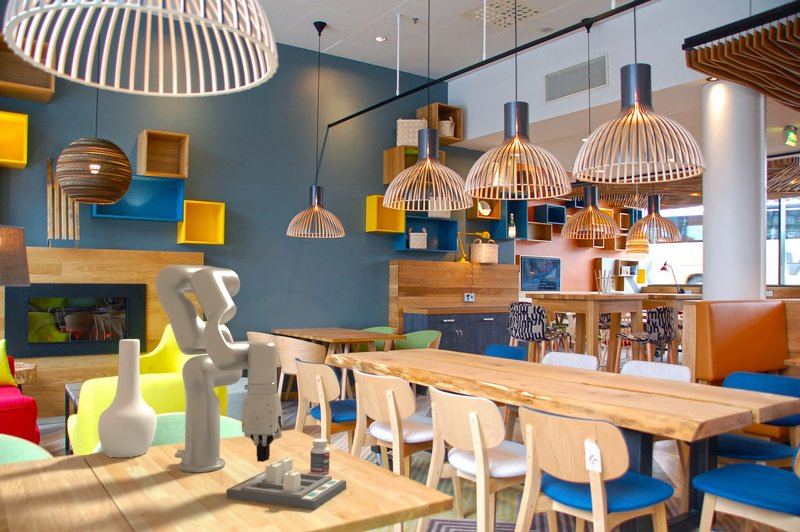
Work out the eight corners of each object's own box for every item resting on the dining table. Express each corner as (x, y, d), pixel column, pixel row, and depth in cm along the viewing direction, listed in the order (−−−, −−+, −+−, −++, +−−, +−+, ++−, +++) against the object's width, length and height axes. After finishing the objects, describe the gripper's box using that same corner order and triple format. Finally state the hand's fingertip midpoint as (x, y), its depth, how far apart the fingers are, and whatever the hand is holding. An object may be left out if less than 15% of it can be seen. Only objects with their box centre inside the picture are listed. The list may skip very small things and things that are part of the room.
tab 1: (265, 483, 157) (265, 463, 157) (271, 480, 160) (272, 460, 160) (275, 485, 156) (276, 464, 156) (282, 481, 159) (282, 461, 159)
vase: (144, 444, 206) (146, 337, 208) (164, 454, 194) (167, 339, 196) (89, 453, 195) (92, 339, 197) (107, 463, 183) (110, 342, 184)
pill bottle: (325, 475, 172) (326, 442, 172) (307, 474, 173) (307, 441, 173) (331, 470, 177) (332, 438, 177) (314, 469, 178) (314, 437, 178)
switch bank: (226, 498, 153) (226, 486, 153) (264, 478, 169) (264, 468, 169) (314, 510, 145) (314, 497, 145) (346, 488, 160) (346, 477, 161)
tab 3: (283, 493, 150) (283, 471, 150) (289, 489, 153) (289, 468, 153) (294, 495, 149) (294, 473, 149) (300, 491, 152) (300, 469, 152)
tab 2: (276, 478, 162) (276, 458, 162) (282, 475, 165) (282, 455, 165) (286, 479, 161) (286, 459, 161) (292, 476, 164) (292, 456, 164)
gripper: (229, 390, 165) (230, 462, 164) (279, 392, 160) (280, 466, 159) (246, 387, 172) (247, 455, 171) (294, 388, 167) (295, 458, 166)
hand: (263, 460), depth 165 cm, fingers closed
